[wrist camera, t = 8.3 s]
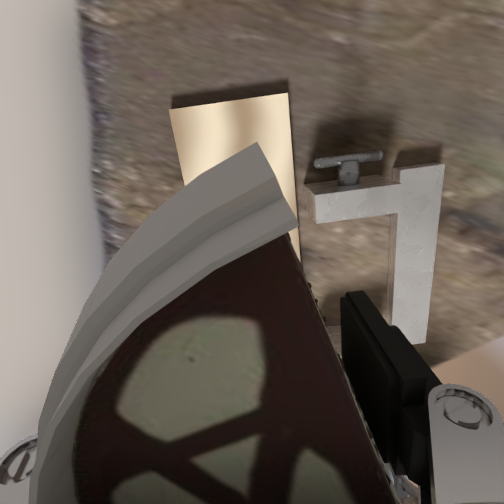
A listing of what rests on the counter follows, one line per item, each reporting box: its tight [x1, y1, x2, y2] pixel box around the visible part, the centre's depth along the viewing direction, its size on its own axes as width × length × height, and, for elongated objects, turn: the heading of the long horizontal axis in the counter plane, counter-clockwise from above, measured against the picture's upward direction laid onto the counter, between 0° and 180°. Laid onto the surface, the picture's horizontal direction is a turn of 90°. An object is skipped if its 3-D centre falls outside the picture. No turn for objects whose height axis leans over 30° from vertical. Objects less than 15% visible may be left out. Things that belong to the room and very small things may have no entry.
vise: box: [304, 150, 445, 359], centre depth 30 cm, size 12×22×5 cm, turn 7°
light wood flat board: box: [169, 93, 300, 261], centre depth 29 cm, size 10×18×1 cm, turn 7°
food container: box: [28, 142, 402, 504], centre depth 9 cm, size 12×6×10 cm, turn 23°
